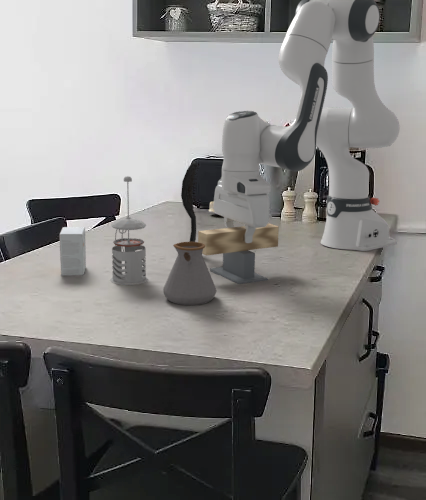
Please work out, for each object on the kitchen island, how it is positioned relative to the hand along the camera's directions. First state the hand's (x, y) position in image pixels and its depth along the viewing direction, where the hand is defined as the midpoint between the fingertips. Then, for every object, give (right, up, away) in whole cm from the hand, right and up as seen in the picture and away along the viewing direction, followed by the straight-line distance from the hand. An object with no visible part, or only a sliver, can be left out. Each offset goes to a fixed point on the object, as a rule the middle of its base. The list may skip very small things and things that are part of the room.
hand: (239, 239), depth 180 cm
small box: (-41, -8, +5) cm, 42 cm away
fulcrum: (0, -9, +2) cm, 10 cm away
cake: (-3, +11, +85) cm, 86 cm away
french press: (-26, -10, -2) cm, 28 cm away
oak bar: (0, -2, +1) cm, 2 cm away
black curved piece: (-12, -4, +24) cm, 27 cm away
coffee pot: (-11, -15, -22) cm, 30 cm away
